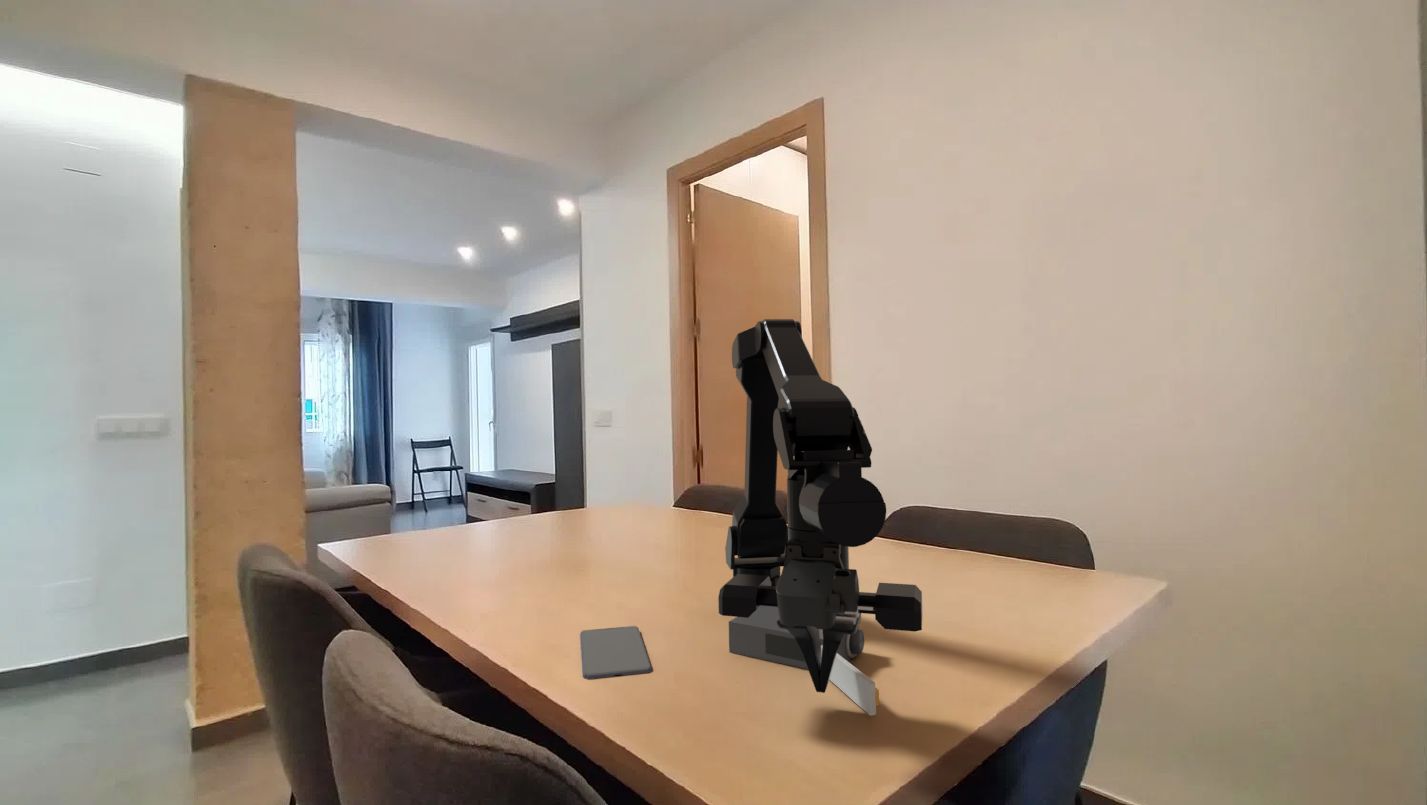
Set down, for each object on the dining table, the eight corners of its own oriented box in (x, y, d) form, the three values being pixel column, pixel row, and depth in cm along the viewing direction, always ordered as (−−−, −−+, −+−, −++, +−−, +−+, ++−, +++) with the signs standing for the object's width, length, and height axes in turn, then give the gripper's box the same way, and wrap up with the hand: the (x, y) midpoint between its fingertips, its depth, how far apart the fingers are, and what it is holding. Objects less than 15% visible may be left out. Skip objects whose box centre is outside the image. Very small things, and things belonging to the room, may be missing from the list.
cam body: (728, 652, 76) (728, 617, 76) (762, 632, 83) (761, 600, 83) (840, 676, 69) (838, 637, 69) (867, 653, 75) (866, 617, 75)
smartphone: (582, 675, 69) (579, 629, 84) (582, 684, 69) (579, 637, 84) (653, 668, 71) (638, 624, 85) (653, 677, 71) (638, 632, 85)
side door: (879, 714, 59) (878, 682, 59) (869, 715, 59) (868, 683, 59) (829, 671, 69) (828, 643, 69) (820, 672, 69) (819, 644, 69)
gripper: (697, 538, 57) (700, 715, 57) (918, 547, 51) (923, 746, 51) (733, 518, 68) (736, 668, 67) (920, 524, 62) (924, 689, 62)
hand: (821, 691), depth 62 cm, fingers closed
